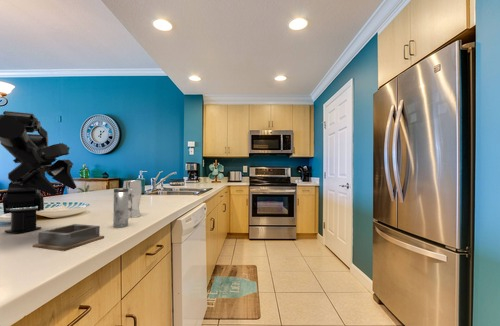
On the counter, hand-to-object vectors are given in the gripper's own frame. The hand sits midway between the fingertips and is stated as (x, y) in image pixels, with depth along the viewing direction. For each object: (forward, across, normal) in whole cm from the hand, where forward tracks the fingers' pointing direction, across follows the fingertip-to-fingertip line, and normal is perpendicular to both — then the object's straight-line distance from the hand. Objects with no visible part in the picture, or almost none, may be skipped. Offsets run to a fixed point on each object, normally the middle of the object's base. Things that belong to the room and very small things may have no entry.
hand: (66, 190), depth 69 cm
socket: (+13, -8, +5) cm, 16 cm away
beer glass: (+19, +26, +3) cm, 32 cm away
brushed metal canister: (+18, +9, 0) cm, 20 cm away
